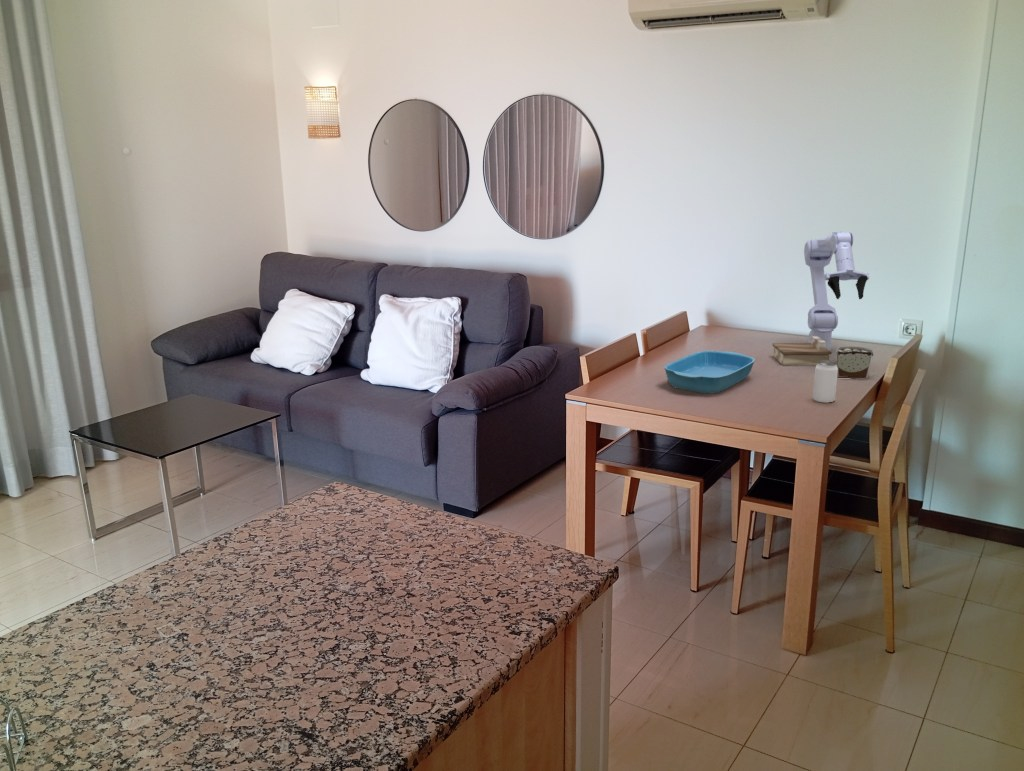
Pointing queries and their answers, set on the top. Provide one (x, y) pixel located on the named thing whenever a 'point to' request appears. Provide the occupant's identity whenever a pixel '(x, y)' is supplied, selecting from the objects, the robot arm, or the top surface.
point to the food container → (853, 361)
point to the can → (825, 381)
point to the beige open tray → (799, 358)
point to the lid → (803, 347)
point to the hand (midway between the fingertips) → (849, 297)
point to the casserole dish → (709, 371)
